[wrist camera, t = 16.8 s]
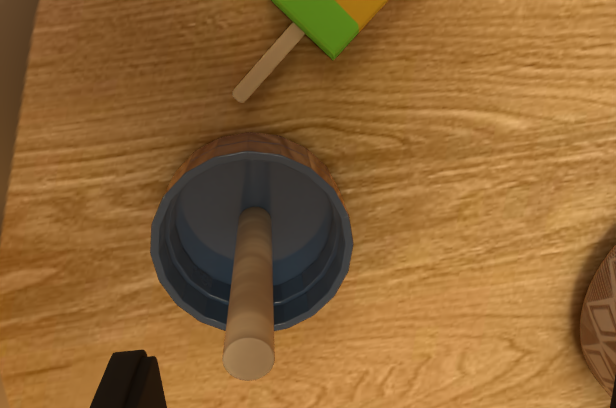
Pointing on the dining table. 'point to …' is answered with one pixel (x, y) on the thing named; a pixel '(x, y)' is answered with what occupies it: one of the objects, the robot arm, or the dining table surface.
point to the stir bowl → (224, 224)
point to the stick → (251, 300)
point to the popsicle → (311, 33)
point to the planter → (601, 323)
